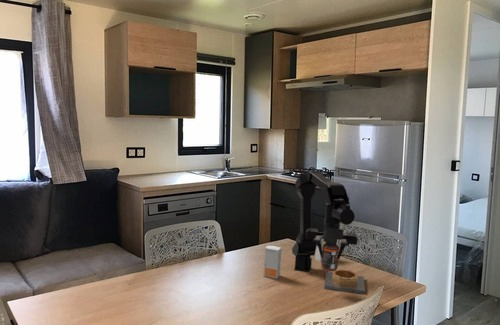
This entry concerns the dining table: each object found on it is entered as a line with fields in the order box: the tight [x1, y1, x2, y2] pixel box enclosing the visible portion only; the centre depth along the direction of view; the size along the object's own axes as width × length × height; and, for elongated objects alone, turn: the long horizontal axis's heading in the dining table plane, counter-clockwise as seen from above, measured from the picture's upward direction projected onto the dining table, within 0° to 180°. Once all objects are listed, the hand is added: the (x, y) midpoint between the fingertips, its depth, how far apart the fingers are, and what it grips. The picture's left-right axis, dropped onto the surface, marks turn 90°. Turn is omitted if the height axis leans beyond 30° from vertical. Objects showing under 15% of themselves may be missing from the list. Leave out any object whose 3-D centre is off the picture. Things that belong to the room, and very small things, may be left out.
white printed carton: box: [314, 238, 326, 263], centre depth 186 cm, size 4×7×10 cm, turn 119°
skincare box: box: [262, 245, 282, 280], centre depth 164 cm, size 6×4×12 cm
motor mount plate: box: [323, 268, 366, 295], centre depth 159 cm, size 15×15×4 cm
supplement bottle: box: [320, 242, 340, 272], centre depth 150 cm, size 6×6×11 cm
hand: (329, 258), depth 150 cm, fingers closed on supplement bottle, 6 cm apart
